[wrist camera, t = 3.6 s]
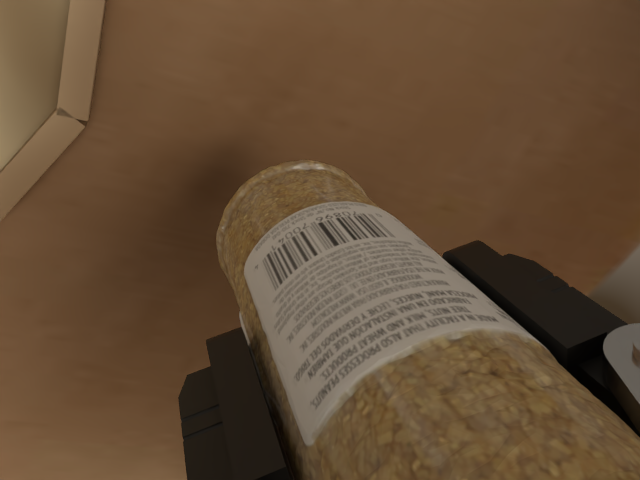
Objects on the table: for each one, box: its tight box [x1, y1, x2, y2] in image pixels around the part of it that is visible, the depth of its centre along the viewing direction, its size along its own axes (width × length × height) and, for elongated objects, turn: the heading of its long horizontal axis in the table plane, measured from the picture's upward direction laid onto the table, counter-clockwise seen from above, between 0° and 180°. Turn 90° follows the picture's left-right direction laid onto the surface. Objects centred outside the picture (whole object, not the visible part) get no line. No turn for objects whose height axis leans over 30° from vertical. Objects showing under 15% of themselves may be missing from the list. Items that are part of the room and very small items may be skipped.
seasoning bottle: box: [216, 160, 640, 480], centre depth 9 cm, size 5×5×13 cm
